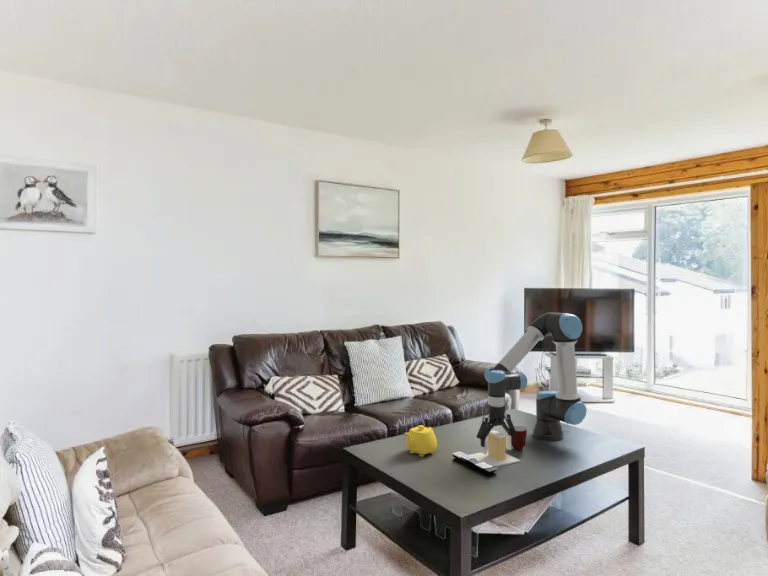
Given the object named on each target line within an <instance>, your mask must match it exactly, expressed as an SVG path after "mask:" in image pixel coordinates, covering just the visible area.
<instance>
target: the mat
mask: <svg viewBox="0 0 768 576" xmlns="http://www.w3.org/2000/svg"><path fill="white" fill-rule="evenodd" d="M468 455H469V456H471V457H473V458H475V459H476V460H477V461H478V462H485V463H487V464H489V465H492V466H495V467H494V468H496V467H497V468H498V467H502V466H506V465H512V464H516V463H517V464H518V463H521V460H520V459H518V458H516V457H515V456H512V455H511V454H509V453H507V452H505V460H500V461H499V460H497V459H495V458H493V457H491V456H489V455H488V450H487V455H485V454H483V453H482V451H481V452H477V453H471V454H468Z"/></svg>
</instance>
